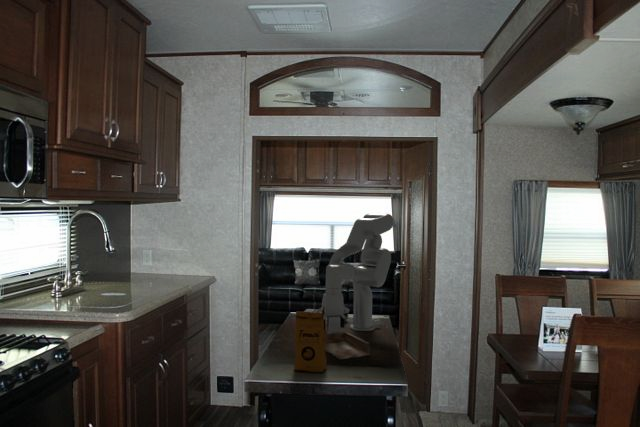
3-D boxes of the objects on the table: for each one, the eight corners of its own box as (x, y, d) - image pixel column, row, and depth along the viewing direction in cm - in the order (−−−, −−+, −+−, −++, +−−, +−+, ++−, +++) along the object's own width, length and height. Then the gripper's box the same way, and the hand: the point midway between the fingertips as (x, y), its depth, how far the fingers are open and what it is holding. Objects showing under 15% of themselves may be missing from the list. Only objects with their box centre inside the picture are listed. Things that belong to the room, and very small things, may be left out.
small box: (326, 336, 228) (326, 314, 228) (338, 335, 229) (338, 313, 229) (328, 340, 220) (328, 317, 220) (340, 340, 221) (340, 317, 221)
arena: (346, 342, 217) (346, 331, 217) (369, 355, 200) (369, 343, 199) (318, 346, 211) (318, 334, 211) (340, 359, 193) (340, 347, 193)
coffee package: (323, 375, 175) (324, 315, 174) (290, 372, 178) (291, 313, 177) (329, 366, 184) (329, 309, 184) (298, 364, 187) (298, 308, 187)
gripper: (345, 289, 231) (344, 324, 231) (313, 290, 224) (312, 327, 224) (353, 291, 225) (352, 328, 224) (320, 293, 217) (319, 331, 217)
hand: (332, 327), depth 224 cm, fingers open, 9 cm apart
